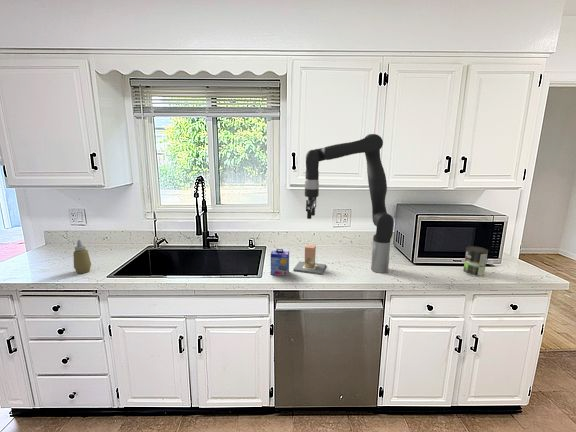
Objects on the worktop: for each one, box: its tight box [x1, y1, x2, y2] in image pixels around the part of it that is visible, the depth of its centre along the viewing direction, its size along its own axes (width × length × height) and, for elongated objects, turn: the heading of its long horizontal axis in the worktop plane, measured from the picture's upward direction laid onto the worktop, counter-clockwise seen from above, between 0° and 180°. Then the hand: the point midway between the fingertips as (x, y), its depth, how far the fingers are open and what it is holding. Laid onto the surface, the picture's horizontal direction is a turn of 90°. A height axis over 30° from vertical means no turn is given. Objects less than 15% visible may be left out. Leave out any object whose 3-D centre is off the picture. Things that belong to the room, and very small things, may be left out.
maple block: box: [304, 256, 316, 269], centre depth 177 cm, size 5×5×6 cm
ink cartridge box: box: [270, 248, 290, 276], centre depth 170 cm, size 10×6×14 cm, turn 86°
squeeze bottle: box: [73, 239, 92, 275], centre depth 169 cm, size 8×8×18 cm
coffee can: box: [462, 245, 489, 278], centre depth 172 cm, size 10×10×14 cm
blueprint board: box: [292, 260, 327, 275], centre depth 178 cm, size 16×13×1 cm
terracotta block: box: [304, 244, 317, 259], centre depth 176 cm, size 5×5×6 cm
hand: (311, 217), depth 172 cm, fingers open, 8 cm apart
